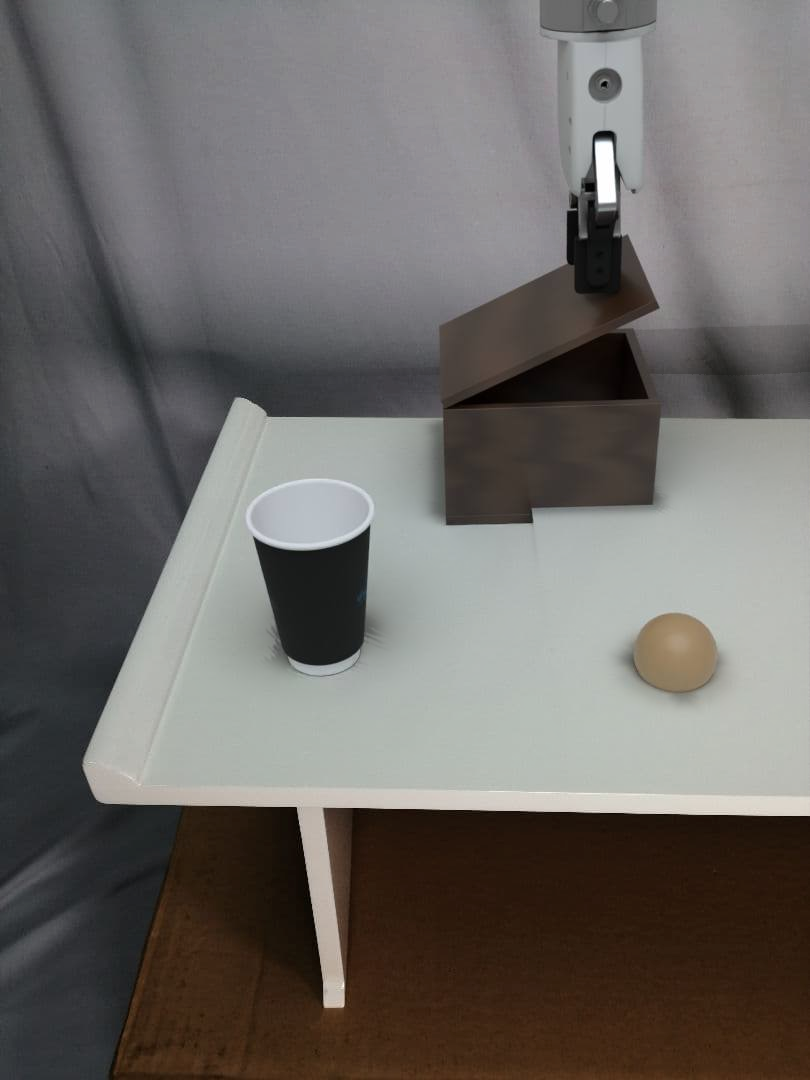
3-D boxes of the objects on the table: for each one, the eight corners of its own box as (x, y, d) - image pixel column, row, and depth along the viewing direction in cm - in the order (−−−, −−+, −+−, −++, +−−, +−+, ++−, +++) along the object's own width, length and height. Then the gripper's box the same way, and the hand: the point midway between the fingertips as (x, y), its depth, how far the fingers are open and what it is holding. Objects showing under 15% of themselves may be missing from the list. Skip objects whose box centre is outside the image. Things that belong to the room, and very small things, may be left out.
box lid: (631, 241, 91) (605, 183, 89) (660, 308, 80) (631, 243, 77) (442, 333, 96) (413, 279, 93) (444, 408, 84) (411, 350, 82)
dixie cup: (408, 656, 76) (401, 512, 70) (307, 709, 73) (291, 561, 67) (338, 602, 82) (326, 464, 76) (240, 648, 78) (219, 507, 72)
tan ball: (704, 658, 75) (712, 595, 72) (720, 711, 71) (729, 645, 68) (625, 660, 75) (630, 597, 72) (637, 712, 71) (643, 647, 68)
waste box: (626, 435, 100) (633, 327, 95) (651, 519, 89) (661, 403, 84) (443, 440, 101) (440, 334, 96) (445, 525, 90) (442, 409, 84)
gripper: (679, 25, 69) (663, 319, 78) (637, -16, 83) (628, 236, 93) (550, 34, 69) (550, 325, 79) (530, -9, 83) (532, 241, 93)
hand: (592, 274), depth 86 cm, fingers closed on box lid, 5 cm apart
